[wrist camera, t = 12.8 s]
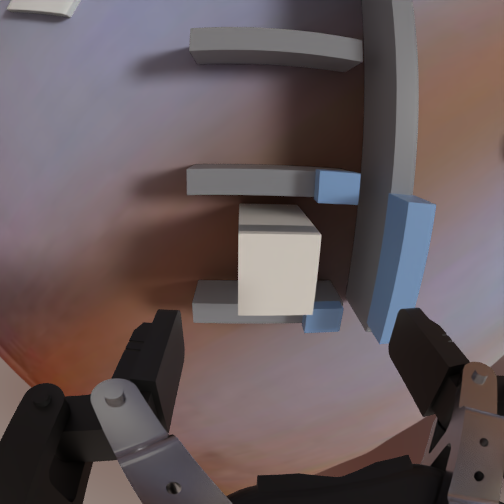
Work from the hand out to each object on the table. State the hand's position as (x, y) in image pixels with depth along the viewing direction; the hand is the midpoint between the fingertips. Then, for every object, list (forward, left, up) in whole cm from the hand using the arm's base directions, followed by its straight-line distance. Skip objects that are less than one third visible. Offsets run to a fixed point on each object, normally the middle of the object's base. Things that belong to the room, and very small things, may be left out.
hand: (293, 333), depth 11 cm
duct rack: (-8, +2, -12) cm, 15 cm away
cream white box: (0, 0, -12) cm, 12 cm away
